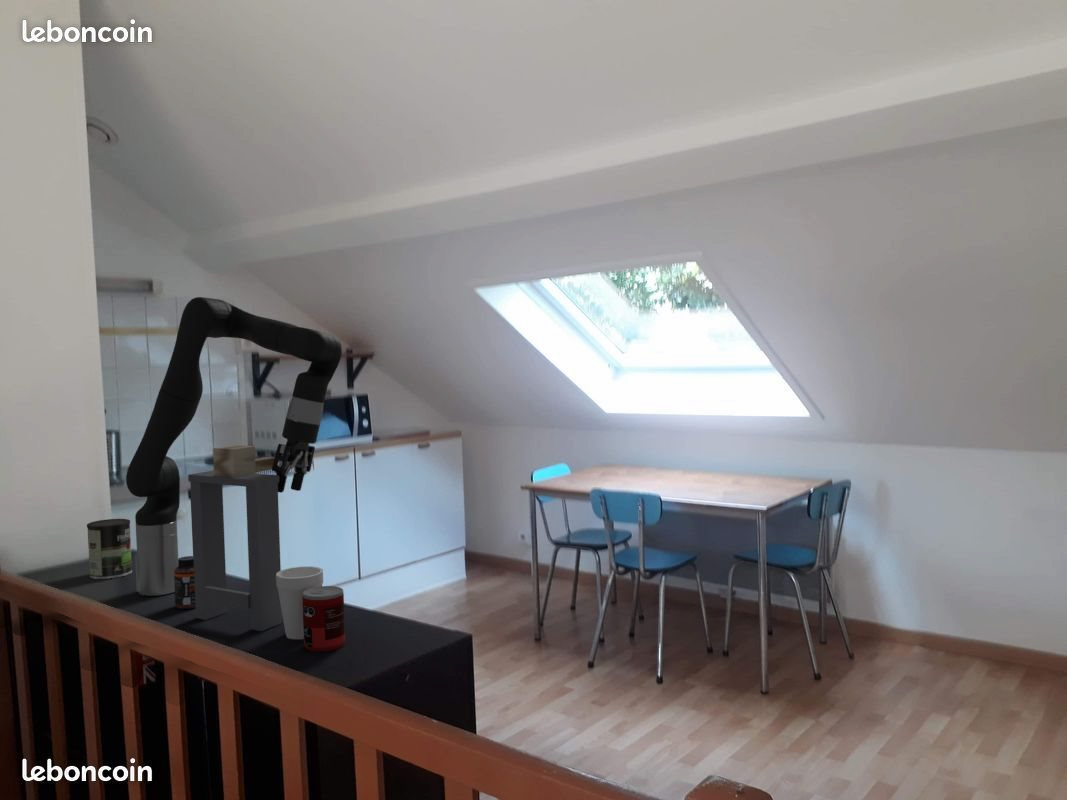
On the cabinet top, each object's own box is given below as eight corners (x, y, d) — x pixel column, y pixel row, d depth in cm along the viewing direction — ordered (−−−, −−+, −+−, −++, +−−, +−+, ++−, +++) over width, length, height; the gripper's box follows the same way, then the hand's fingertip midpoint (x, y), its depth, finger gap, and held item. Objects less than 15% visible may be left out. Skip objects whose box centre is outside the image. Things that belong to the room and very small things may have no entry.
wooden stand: (194, 618, 185) (188, 474, 183) (219, 609, 191) (214, 470, 189) (259, 632, 175) (253, 480, 173) (284, 622, 181) (279, 475, 179)
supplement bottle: (193, 610, 191) (191, 561, 190) (169, 609, 192) (167, 560, 191) (208, 602, 197) (206, 555, 196) (185, 601, 198) (183, 554, 197)
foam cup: (282, 644, 167) (280, 580, 166) (274, 631, 175) (271, 570, 174) (330, 636, 171) (328, 574, 171) (319, 624, 180) (317, 564, 179)
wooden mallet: (214, 475, 180) (213, 448, 180) (263, 467, 192) (262, 441, 192) (233, 477, 177) (232, 449, 177) (282, 468, 190) (281, 442, 189)
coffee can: (139, 569, 229) (137, 518, 228) (120, 579, 218) (118, 526, 218) (102, 569, 229) (99, 518, 228) (81, 579, 218) (78, 526, 218)
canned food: (307, 639, 170) (306, 586, 169) (347, 638, 171) (346, 584, 170) (300, 653, 162) (298, 597, 162) (342, 651, 163) (340, 595, 162)
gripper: (301, 417, 194) (286, 485, 194) (273, 414, 180) (255, 488, 180) (331, 424, 193) (315, 493, 192) (305, 422, 179) (287, 496, 178)
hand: (286, 490), depth 186 cm, fingers open, 8 cm apart
